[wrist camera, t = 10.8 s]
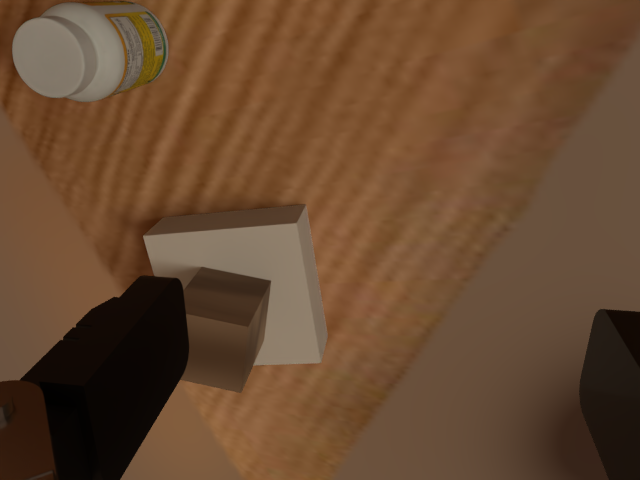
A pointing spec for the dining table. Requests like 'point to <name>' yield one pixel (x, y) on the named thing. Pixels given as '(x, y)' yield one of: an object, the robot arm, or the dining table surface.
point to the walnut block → (224, 327)
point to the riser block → (253, 269)
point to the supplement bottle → (90, 50)
